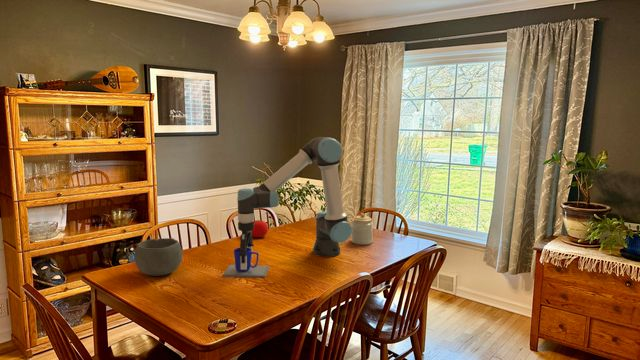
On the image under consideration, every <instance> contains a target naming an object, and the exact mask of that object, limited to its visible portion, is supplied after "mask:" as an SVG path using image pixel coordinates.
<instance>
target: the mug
mask: <svg viewBox="0 0 640 360" xmlns="http://www.w3.org/2000/svg"><path fill="white" fill-rule="evenodd" d="M233 253H234V254H233V256H234V265H235V267H236V270H237V271H240V272H244V271H248V270H249V269H250V267H252V268H255V267H256V266H257V265H258V263H259V258H260V257H259V254H260V253H259V252H257V251H252V252H251V249H250V248H247V251H246V256H247V270H241V259H240V256H239V253H240V247H237V248H235V249H234V250H233ZM242 254H244V253H242ZM251 255H252V256H253V255H256V261H255V264H254V265H255V266H251V265H252V260H251Z"/></svg>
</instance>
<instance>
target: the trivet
mask: <svg viewBox="0 0 640 360" xmlns="http://www.w3.org/2000/svg"><path fill="white" fill-rule="evenodd" d="M255 265H256V264H251V266H255ZM269 269H270V265H260V264H259V265H258V264H257V266H256V267H255V268H252V267H250V269H249V270H248V271H244V272H240V271H237V270H236V267H235V264H229V265H228V266H227V268H226V269H225V271H224V272H223V273H222V276H221V277H223V278H266V277H267V274H268V271H269Z"/></svg>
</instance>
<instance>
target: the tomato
mask: <svg viewBox="0 0 640 360" xmlns="http://www.w3.org/2000/svg"><path fill="white" fill-rule="evenodd" d="M253 222H254V229H253V230H251V232H252V238H258V239H260V238H262V237H265V236H266V235H267V234H268V232H269V227H268V224H267V222H265V221H264V220H261V219H260V220H259V219H258V220H254V221H253Z"/></svg>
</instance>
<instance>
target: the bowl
mask: <svg viewBox="0 0 640 360" xmlns="http://www.w3.org/2000/svg"><path fill="white" fill-rule="evenodd" d="M182 261H183V249H182V246H181V244H180V242H179V240H177V239H175V238H174V237H173V238H171V237H170V238H168V237H167V238H165V237H164V238H162V237H161V238H153V239H146V240H143V241H140V242H139V243H138V244H137V245H136V248H135V250H134V262H135V265H136V267H137V269H138V270H139V271H140V272H141V273H143V274H144V275H145V274H146V275H147V276H148V275H149V276H155V277H156V276H159V277H160V276H166V275H168V274H169V275H170V274H171V273H173V272H175V271H176V270H177V269H178V268H179V266H181V263H182Z"/></svg>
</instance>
